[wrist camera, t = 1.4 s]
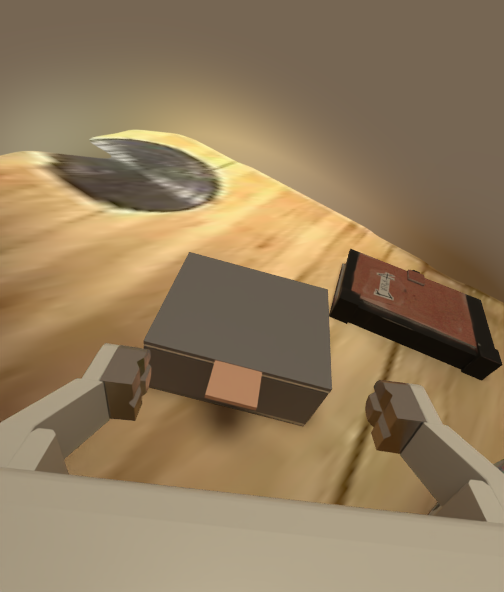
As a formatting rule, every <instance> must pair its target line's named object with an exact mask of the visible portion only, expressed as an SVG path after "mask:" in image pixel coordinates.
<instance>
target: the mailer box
mask: <svg viewBox="0 0 504 592" xmlns="http://www.w3.org/2000/svg"><path fill="white" fill-rule="evenodd" d="M144 349H148V350H150V354H151V358H150V361H149V363H148V364H149V365H150V366H151V379H150V383H149V387H150V388H154V389H158V390H162V391H166V392H170V393H174V394H178V395H182V396H185V397H189V398H193V399H197V400H201V401H205V402H209V403H213V404H217V405H221V406H225V407H229V408H233V409H237V410H241V411H245V412H249V413H253V414H257V415H261V416H265V417H269V418H273V419H277V420H280V421H284V422H288V423H292V424H296V425H300V426H304V425H305V424H306V423H307V421H308V420H309V419H310V417H311V416H312V415H313V414H314V412H315V411H316V410H317V408H318V407H319V406H320V404H321V403H322V402H323V400H324V399H325V398H326V397H327V395H328V393H326V392H322V391H318V390H314V389H310V388H306V387H303V386H299V385H295V384H291V383H287V382H283V381H279V380H275V379H271V378H268V377H264V376H261V383H260V390H259V397H258V403H257V408H256V411H255V410H251V409H247V408H243V407H239V406H235V405H231V404H227V403H223V402H219V401H215V400H211V399H208V398H205V394H206V390H207V387H208V383H209V380H210V376H211V373H212V369H213V366H214V364H213V363H209V362H206V361H202V360H198V359H194V358H190V357H186V356H182V355H178V354H175V353H171V352H167V351H163V350H159V349H155V348H151V347H147V346H144Z"/></svg>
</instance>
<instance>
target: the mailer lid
mask: <svg viewBox="0 0 504 592" xmlns="http://www.w3.org/2000/svg"><path fill="white" fill-rule="evenodd" d="M144 346H147V347H151V348H155V349H159V350H163V351H167V352H171V353H175V354H178V355H182V356H186V357H190V358H194V359H198V360H202V361H206V362H209V363H213V364H214V366H213V369H212V373H211V376H210V380H209V383H208V387H207V390H206V394H205V398H208V399H211V400H215V401H219V402H223V403H227V404H231V405H235V406H239V407H243V408H247V409H251V410H255V411H256V408H257V403H258V397H259V390H260V383H261V376H264V377H268V378H271V379H275V380H279V381H283V382H287V383H291V384H295V385H299V386H303V387H306V388H310V389H314V390H318V391H322V392H326V393H330V391H331V390H332V379H331V355H330V330H329V306H328V290H327V289H324V288H320V287H316V286H313V285H309V284H305V283H302V282H298V281H294V280H291V279H287V278H283V277H280V276H276V275H272V274H269V273H265V272H261V271H257V270H254V269H250V268H246V267H243V266H239V265H235V264H232V263H228V262H224V261H221V260H217V259H213V258H210V257H206V256H202V255H199V254H195V253H191V252H189V254H188V256H187V258H186V260H185V262H184V263H183V265H182V267H181V269H180V271H179V273H178V275H177V277H176V279H175V281H174V283H173V285H172V287H171V289H170V291H169V293H168V294H167V296H166V298H165V300H164V302H163V304H162V306H161V308H160V310H159V312H158V314H157V316H156V318H155V320H154V322H153V324H152V325H151V327H150V329H149V331H148V333H147V335H146V337H145V339H144Z"/></svg>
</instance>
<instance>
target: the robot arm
mask: <svg viewBox="0 0 504 592" xmlns="http://www.w3.org/2000/svg"><path fill="white" fill-rule="evenodd" d="M150 358H151V354H150V350H148V349H142V348H135V347H129V346H123V345H115V344H108V343H105V344H104V345H103V346H102V347H101V348H100V350H99V352H98V353H97V355H96V356H95V358H94V360H93V361H92V363H91V364H90V366H89V368H88V369H87V371H86V372H85V374H84V375H83V377H82V379H79V378H77V379H75V380H73V381H71V382H70V383H68V384H66V385H64V386H63V387H61V388H59V389H58V390H56V391H54V392H52V393H51V394H49V395H47V396H45V397H44V398H42V399H40V400H39V401H37V402H35V403H33V404H32V405H30V406H28V407H26V408H25V409H23V410H21V411H20V412H18V413H16V414H14V415H13V416H11V417H9V418H7V419H6V420H4V421H2V422H1V423H0V592H504V473H502V472H501V471H500V470H499V469H498V468H497V467H495V466H494V465H493V464H492V463H491V462H490V461H488V460H487V459H486V458H485V457H484V456H483V455H481V454H480V453H479V452H478V451H477V450H476V449H474V448H473V447H472V446H471V445H470V444H468V443H467V442H466V441H465V440H464V439H463V438H461V437H460V436H459V435H458V434H457V433H456V432H454V431H453V430H452V429H451V428H450V427H449V426H447V425H443V424H442V422H441V420H440V418H439V416H438V414H437V412H436V410H435V408H434V406H433V404H432V402H431V401H430V399H429V397H428V395H427V393H426V391H425V389H424V388H423V387H422V386H421V385H416V384H408V383H400V382H392V381H384V380H379V381H377V382H376V383H375V385H374V390H375V392H374V393H372V394H370V395H369V397H368V399H367V401H366V408H365V410H366V417H367V420H368V422H369V423H370V424H371V425H372V426H373V427H374V428H373V430H372V432H371V434H372V437H373V440H374V444H375V447H376V450H379V451H385V452H392V453H398V454H400V456H401V457H402V458H403V459H404V461H405V462H406V463H407V464H408V465H409V467H410V468H411V469H412V470H413V472H414V473H415V474H416V475H417V477H418V478H419V479H420V480H421V482H422V483H423V484H424V485H425V487H426V488H427V489H428V490H429V492H430V493H431V494H432V495H433V497H434V498H435V499H436V500H437V501H438V503H439V504H440V505H441V506H442V507H441V508H440V509H439V510H438V511H437V512H436V513H435V514H434V515H433V516H432V515H423V514H414V513H405V512H396V511H387V510H378V509H370V508H361V507H352V506H343V505H334V504H325V503H316V502H308V501H299V500H290V499H281V498H272V497H263V496H254V495H245V494H236V493H227V492H218V491H209V490H200V489H192V488H183V487H174V486H165V485H156V484H147V483H138V482H130V481H121V480H112V479H103V478H94V477H85V476H77V475H69V473H68V470H67V467H66V464H65V461H64V459H65V458H66V457H67V456H68V455H70V454H71V453H72V452H73V451H74V450H75V449H76V448H78V447H79V446H80V445H81V444H82V443H83V442H85V441H86V440H87V439H88V438H89V437H90V436H91V435H93V434H94V433H95V432H96V431H97V430H98V429H100V428H101V427H102V426H103V425H104V424H105V423H106V422H108V421H109V418H111V419H122V420H133V421H135V420H136V418H137V415H138V413H139V410H140V408H141V405H142V396H143V395H144V394H146V392H147V390H148V387H149V383H150V379H151V366H150V365H149V364H148V363H149V361H150Z"/></svg>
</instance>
